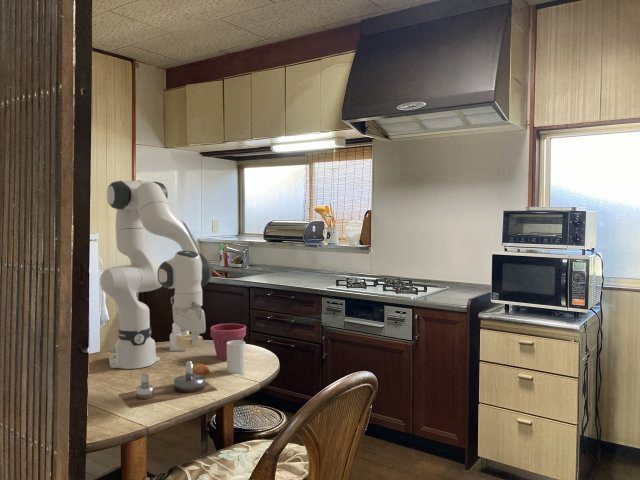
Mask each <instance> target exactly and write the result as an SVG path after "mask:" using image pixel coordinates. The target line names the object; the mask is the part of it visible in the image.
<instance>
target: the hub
mask: <svg viewBox="0 0 640 480" xmlns="http://www.w3.org/2000/svg"><path fill="white" fill-rule="evenodd" d="M193 363H194V362H193V361H191V360H188V361H186V362H185V374H183V375H180V376H176V377H175V378H174V379H173V384H174V391H176V392H178V393H195V392H199V391H201V390H203V389H204V388H205V381H206V378H205V375H204V376H202V375H197V374H193V365H194V364H193Z"/></svg>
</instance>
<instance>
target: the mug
mask: <svg viewBox="0 0 640 480" xmlns="http://www.w3.org/2000/svg"><path fill="white" fill-rule="evenodd" d="M226 365H227V366H226V369H227V373H229V374H238V375H240V376H241V377H244V376H245V373H246V371H245V370H246V341H245V340H243V341H241V340H233V341H229V342H227V360H226Z"/></svg>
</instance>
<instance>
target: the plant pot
mask: <svg viewBox="0 0 640 480" xmlns="http://www.w3.org/2000/svg"><path fill="white" fill-rule="evenodd" d="M246 335H247V326H246V325H245V324H240V323H219V324H215V325H213V326H210V338H212V341H213V346H214V350H215V353H216V358H217V359H218V360H220V361H227V342H229V341H233V340H241V341H244V337H246Z"/></svg>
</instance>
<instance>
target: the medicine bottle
mask: <svg viewBox="0 0 640 480" xmlns="http://www.w3.org/2000/svg"><path fill="white" fill-rule="evenodd" d="M171 331H172V332H171V333H170V334H169V351H170V352H180V351H181V352H185V351H186V352H187V351H188V349H182V348H180V347H178V346H177V345H176V336H182V334H181V331H180V326H178V325H176V324H175V323H174V321H173V322H172V324H171ZM187 334H188V335H189V334H190V331H188V330H187Z"/></svg>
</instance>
